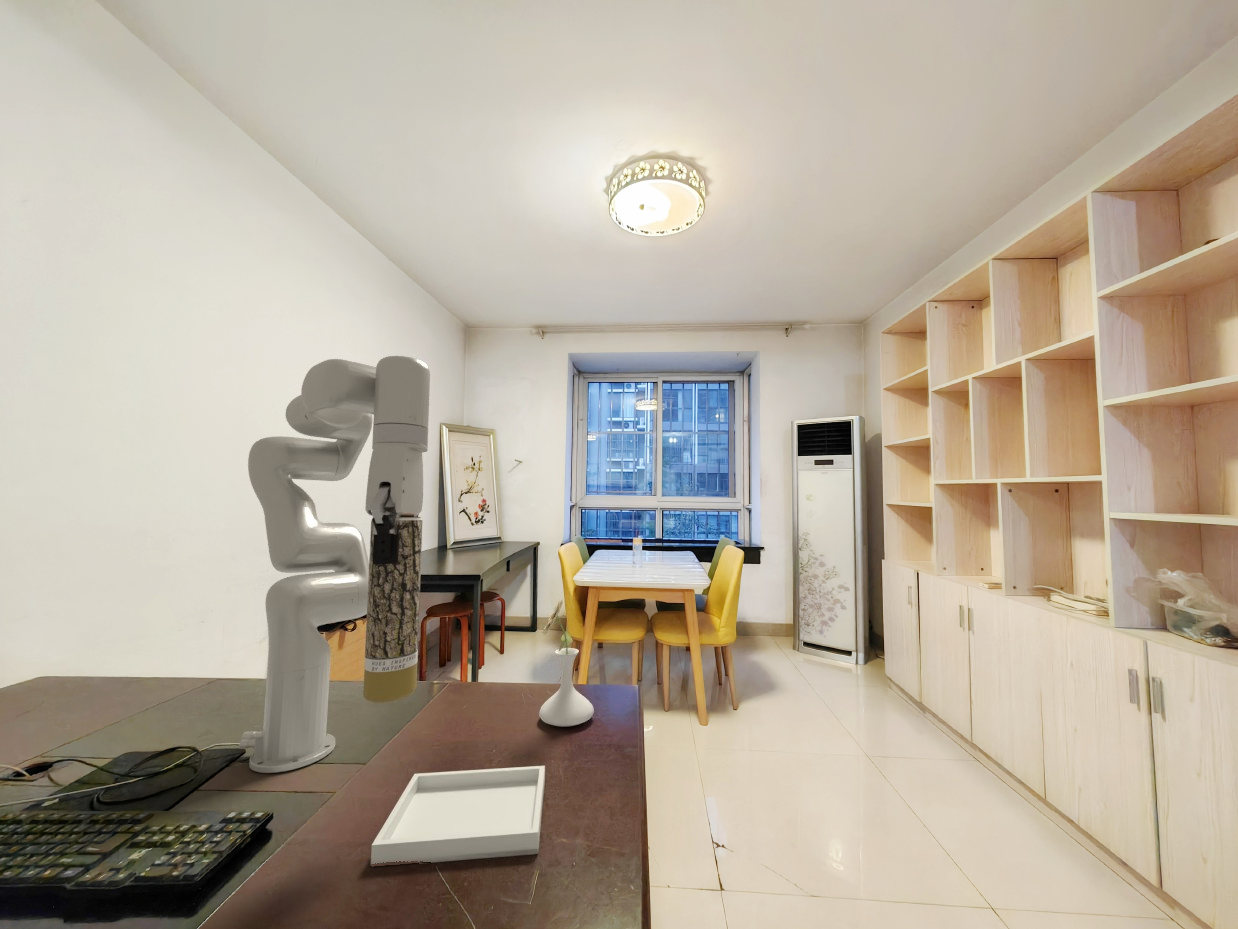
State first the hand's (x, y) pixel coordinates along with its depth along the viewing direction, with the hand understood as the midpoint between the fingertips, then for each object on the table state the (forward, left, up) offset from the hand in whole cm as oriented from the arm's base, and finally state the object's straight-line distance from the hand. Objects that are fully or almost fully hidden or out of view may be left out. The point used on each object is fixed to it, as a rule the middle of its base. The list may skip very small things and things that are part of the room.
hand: (395, 560), depth 68 cm
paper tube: (0, 0, -19) cm, 19 cm away
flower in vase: (+24, +30, -36) cm, 53 cm away
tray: (+11, 0, -36) cm, 38 cm away
